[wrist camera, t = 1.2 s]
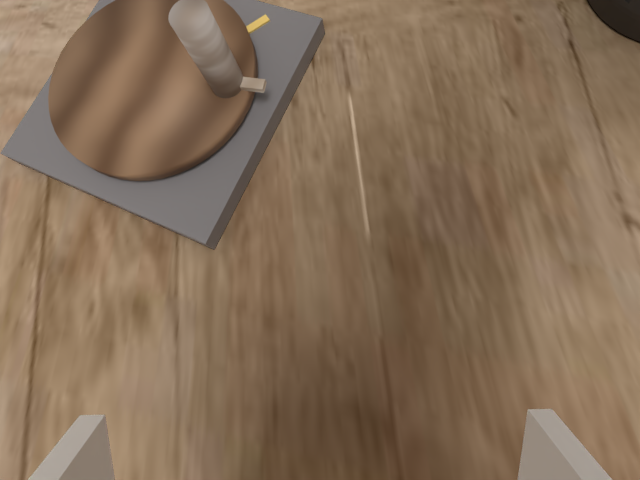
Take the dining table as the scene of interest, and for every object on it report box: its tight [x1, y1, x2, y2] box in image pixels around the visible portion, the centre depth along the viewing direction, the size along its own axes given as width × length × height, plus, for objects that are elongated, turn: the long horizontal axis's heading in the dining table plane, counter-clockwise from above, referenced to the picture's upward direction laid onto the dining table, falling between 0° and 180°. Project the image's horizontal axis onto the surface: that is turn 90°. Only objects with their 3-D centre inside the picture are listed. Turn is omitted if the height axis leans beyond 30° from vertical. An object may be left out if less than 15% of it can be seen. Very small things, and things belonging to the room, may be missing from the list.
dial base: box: [1, 0, 325, 249], centre depth 42 cm, size 24×24×2 cm
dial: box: [48, 0, 267, 181], centre depth 36 cm, size 22×20×10 cm
